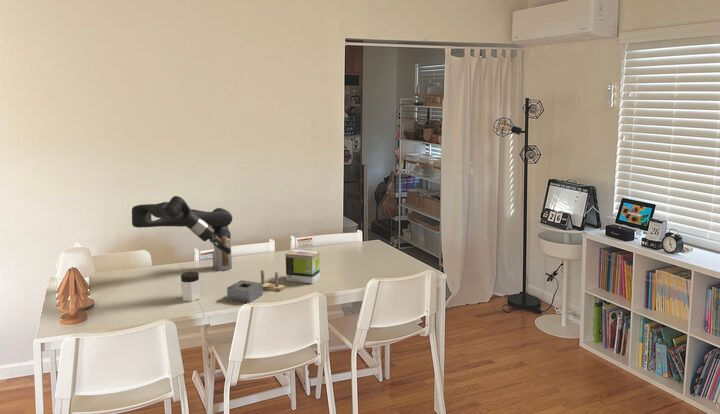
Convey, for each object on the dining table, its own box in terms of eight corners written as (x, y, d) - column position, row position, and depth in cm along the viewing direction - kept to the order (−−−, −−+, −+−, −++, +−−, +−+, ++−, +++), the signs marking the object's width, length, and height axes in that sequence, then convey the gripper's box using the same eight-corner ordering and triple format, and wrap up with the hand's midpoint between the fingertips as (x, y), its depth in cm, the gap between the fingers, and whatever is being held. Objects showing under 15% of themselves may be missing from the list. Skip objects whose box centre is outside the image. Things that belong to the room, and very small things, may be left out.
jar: (194, 294, 300) (192, 270, 297) (204, 297, 295) (202, 273, 292) (178, 299, 293) (176, 274, 290) (188, 303, 288) (186, 278, 285)
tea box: (320, 278, 323) (319, 251, 320) (312, 284, 314) (312, 256, 311) (294, 275, 328) (293, 248, 325) (285, 281, 319) (284, 253, 316)
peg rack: (255, 287, 308) (254, 271, 307) (260, 284, 313) (260, 268, 311) (279, 291, 303) (279, 275, 301) (284, 288, 308) (284, 272, 306)
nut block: (227, 299, 292) (226, 287, 291) (241, 291, 303) (241, 280, 301) (249, 303, 287) (248, 291, 286) (262, 295, 298) (262, 283, 297)
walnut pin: (220, 265, 299) (219, 237, 296) (224, 263, 302) (223, 235, 299) (226, 266, 298) (224, 238, 295) (230, 264, 301) (228, 236, 298)
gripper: (195, 231, 299) (222, 253, 306) (197, 239, 286) (225, 261, 293) (206, 220, 300) (232, 242, 306) (208, 226, 287) (236, 249, 293)
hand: (229, 251), depth 299 cm, fingers closed on walnut pin, 3 cm apart
